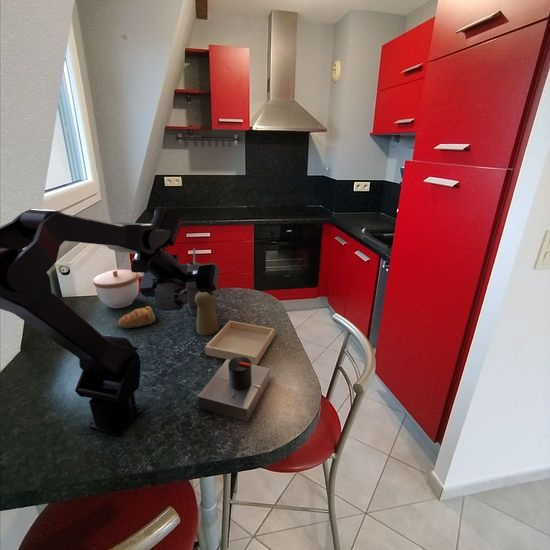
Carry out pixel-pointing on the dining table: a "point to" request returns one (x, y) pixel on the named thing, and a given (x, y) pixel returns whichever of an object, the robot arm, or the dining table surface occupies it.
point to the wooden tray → (240, 342)
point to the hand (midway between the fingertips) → (196, 295)
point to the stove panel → (233, 393)
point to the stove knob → (240, 373)
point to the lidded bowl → (117, 287)
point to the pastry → (137, 318)
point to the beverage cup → (192, 287)
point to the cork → (206, 314)
